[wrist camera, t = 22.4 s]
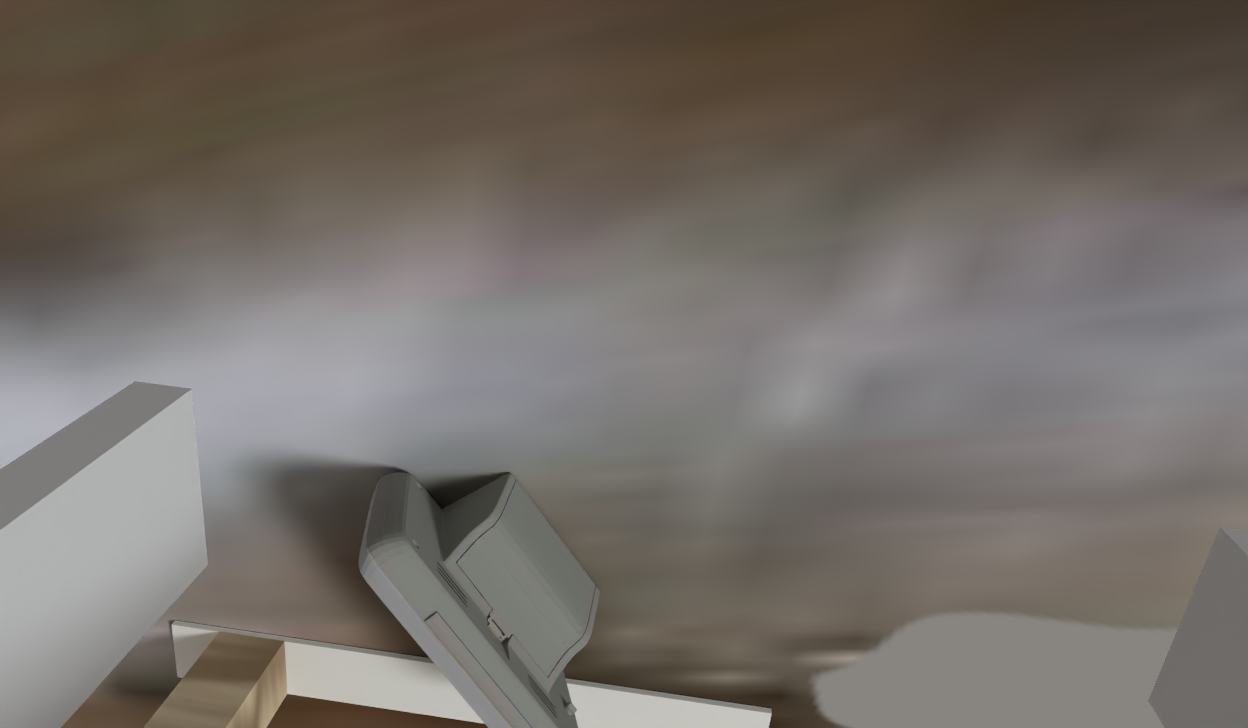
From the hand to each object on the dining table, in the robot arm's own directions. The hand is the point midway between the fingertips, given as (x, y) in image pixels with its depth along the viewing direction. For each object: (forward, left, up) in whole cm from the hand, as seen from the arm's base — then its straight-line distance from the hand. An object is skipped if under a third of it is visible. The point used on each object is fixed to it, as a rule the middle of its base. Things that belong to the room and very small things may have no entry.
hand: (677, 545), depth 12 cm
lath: (+33, -10, -32) cm, 47 cm away
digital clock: (+24, -9, -32) cm, 41 cm away
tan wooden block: (+33, -23, -31) cm, 51 cm away
